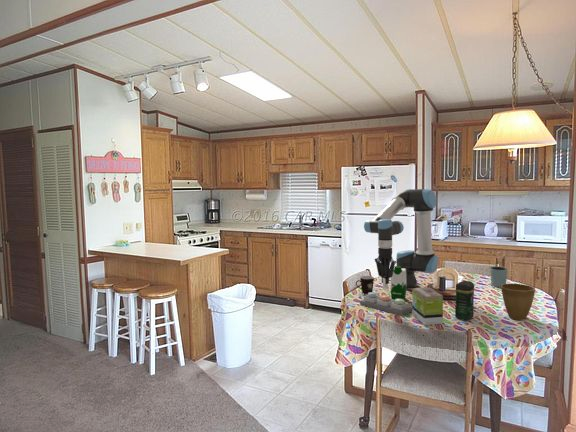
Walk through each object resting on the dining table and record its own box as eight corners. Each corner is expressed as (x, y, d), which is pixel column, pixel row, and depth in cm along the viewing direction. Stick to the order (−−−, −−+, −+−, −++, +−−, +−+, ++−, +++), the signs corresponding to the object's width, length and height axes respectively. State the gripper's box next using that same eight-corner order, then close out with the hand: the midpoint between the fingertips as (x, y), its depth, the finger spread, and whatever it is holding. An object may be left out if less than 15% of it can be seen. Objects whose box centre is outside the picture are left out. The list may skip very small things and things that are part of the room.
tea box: (411, 315, 207) (411, 287, 206) (430, 314, 208) (430, 286, 207) (423, 325, 192) (423, 295, 191) (443, 324, 193) (443, 294, 192)
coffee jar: (469, 321, 196) (469, 285, 194) (453, 318, 201) (453, 282, 200) (475, 316, 203) (476, 281, 201) (460, 313, 208) (460, 278, 207)
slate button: (378, 297, 227) (378, 293, 227) (373, 299, 224) (373, 295, 223) (371, 296, 230) (371, 291, 230) (366, 297, 227) (366, 293, 227)
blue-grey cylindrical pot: (507, 285, 259) (508, 267, 258) (506, 289, 250) (507, 270, 249) (490, 283, 264) (490, 265, 263) (488, 287, 256) (489, 268, 255)
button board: (412, 311, 213) (412, 302, 213) (402, 315, 207) (402, 307, 206) (370, 300, 234) (370, 292, 234) (359, 304, 228) (359, 296, 227)
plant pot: (540, 318, 197) (541, 287, 196) (524, 325, 189) (525, 292, 188) (509, 311, 210) (510, 281, 208) (494, 316, 202) (495, 286, 200)
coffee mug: (373, 290, 254) (373, 275, 253) (374, 294, 245) (374, 279, 244) (355, 290, 255) (354, 275, 254) (355, 294, 246) (355, 279, 246)
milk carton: (389, 300, 233) (389, 267, 232) (392, 296, 242) (392, 263, 240) (405, 301, 230) (405, 268, 228) (407, 297, 238) (407, 264, 236)
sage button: (405, 304, 213) (405, 299, 213) (400, 306, 210) (400, 301, 210) (398, 302, 217) (398, 298, 217) (393, 304, 214) (393, 300, 214)
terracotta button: (391, 300, 220) (391, 296, 220) (386, 302, 217) (386, 298, 217) (384, 299, 224) (384, 294, 223) (379, 301, 221) (379, 296, 220)
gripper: (371, 246, 220) (371, 288, 222) (391, 249, 210) (391, 292, 212) (379, 245, 225) (379, 285, 227) (399, 247, 215) (399, 290, 217)
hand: (385, 289), depth 220 cm, fingers closed
